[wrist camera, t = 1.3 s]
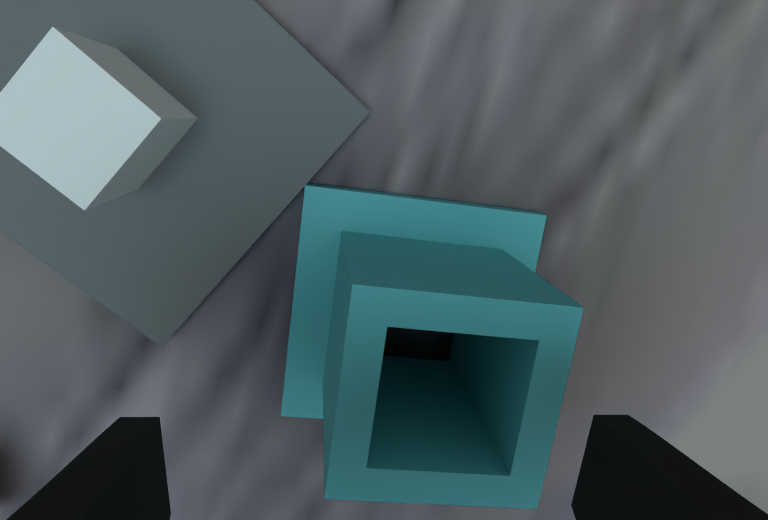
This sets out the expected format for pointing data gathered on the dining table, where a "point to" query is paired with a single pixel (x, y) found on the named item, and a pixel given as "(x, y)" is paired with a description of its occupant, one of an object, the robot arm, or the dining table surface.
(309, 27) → the dining table surface
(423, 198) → the flange
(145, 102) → the post block
